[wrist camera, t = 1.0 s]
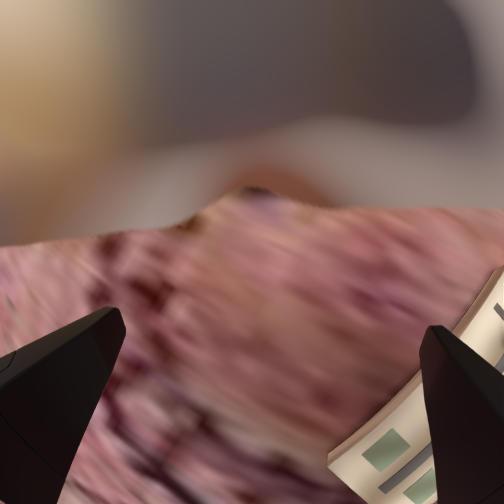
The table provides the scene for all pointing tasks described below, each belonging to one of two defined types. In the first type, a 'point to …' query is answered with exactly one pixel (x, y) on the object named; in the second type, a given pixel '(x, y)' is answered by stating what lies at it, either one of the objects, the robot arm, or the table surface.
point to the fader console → (415, 419)
